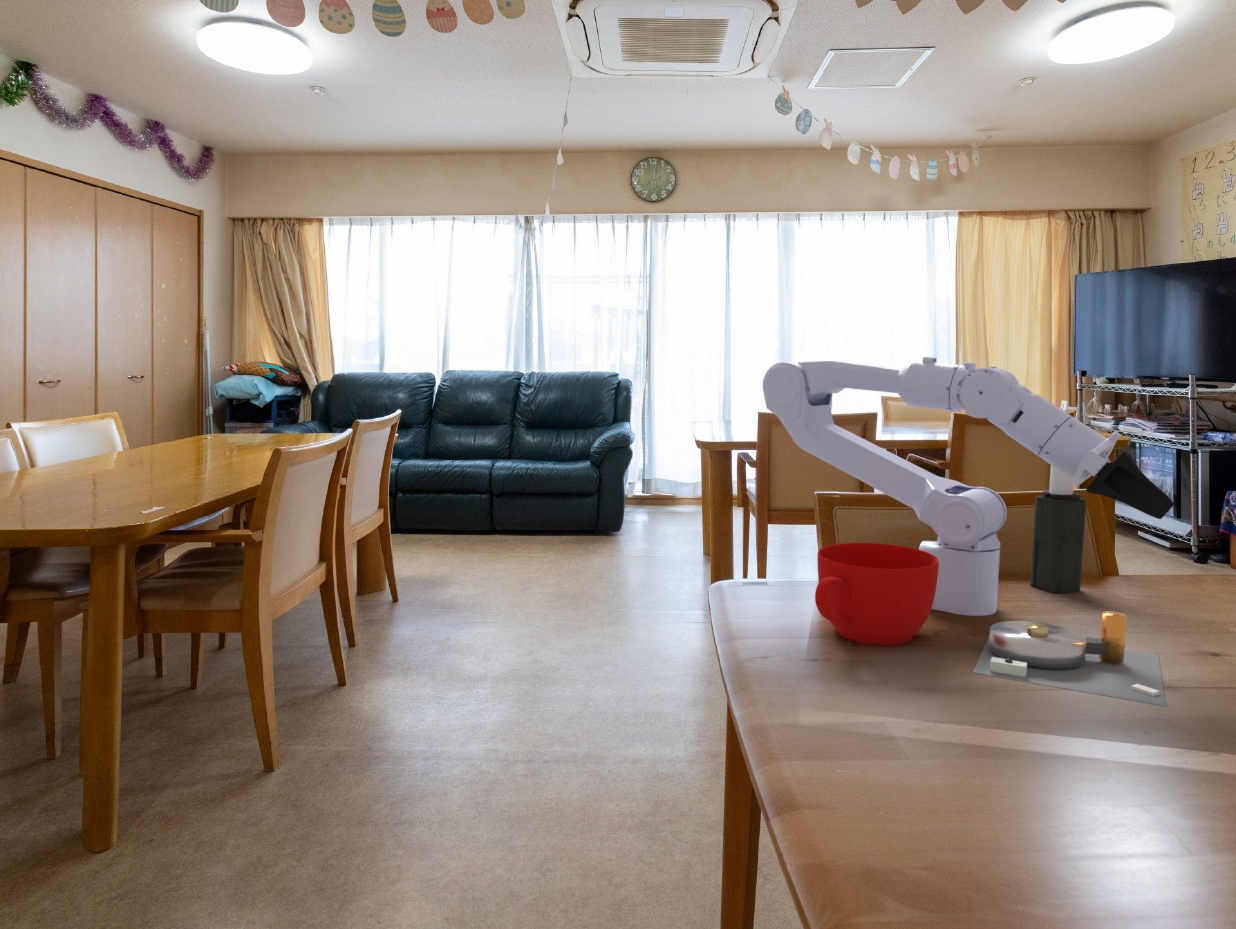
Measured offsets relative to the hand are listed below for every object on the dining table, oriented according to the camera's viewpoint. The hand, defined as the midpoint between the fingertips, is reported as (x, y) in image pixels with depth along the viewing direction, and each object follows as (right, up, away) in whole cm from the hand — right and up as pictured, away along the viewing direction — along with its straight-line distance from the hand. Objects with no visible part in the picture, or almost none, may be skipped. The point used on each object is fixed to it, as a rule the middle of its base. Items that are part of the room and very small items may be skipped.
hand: (1168, 511), depth 90 cm
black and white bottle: (+2, -12, +27) cm, 30 cm away
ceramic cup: (-32, -15, +3) cm, 35 cm away
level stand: (-14, -16, -5) cm, 22 cm away
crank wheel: (-14, -15, -3) cm, 20 cm away
